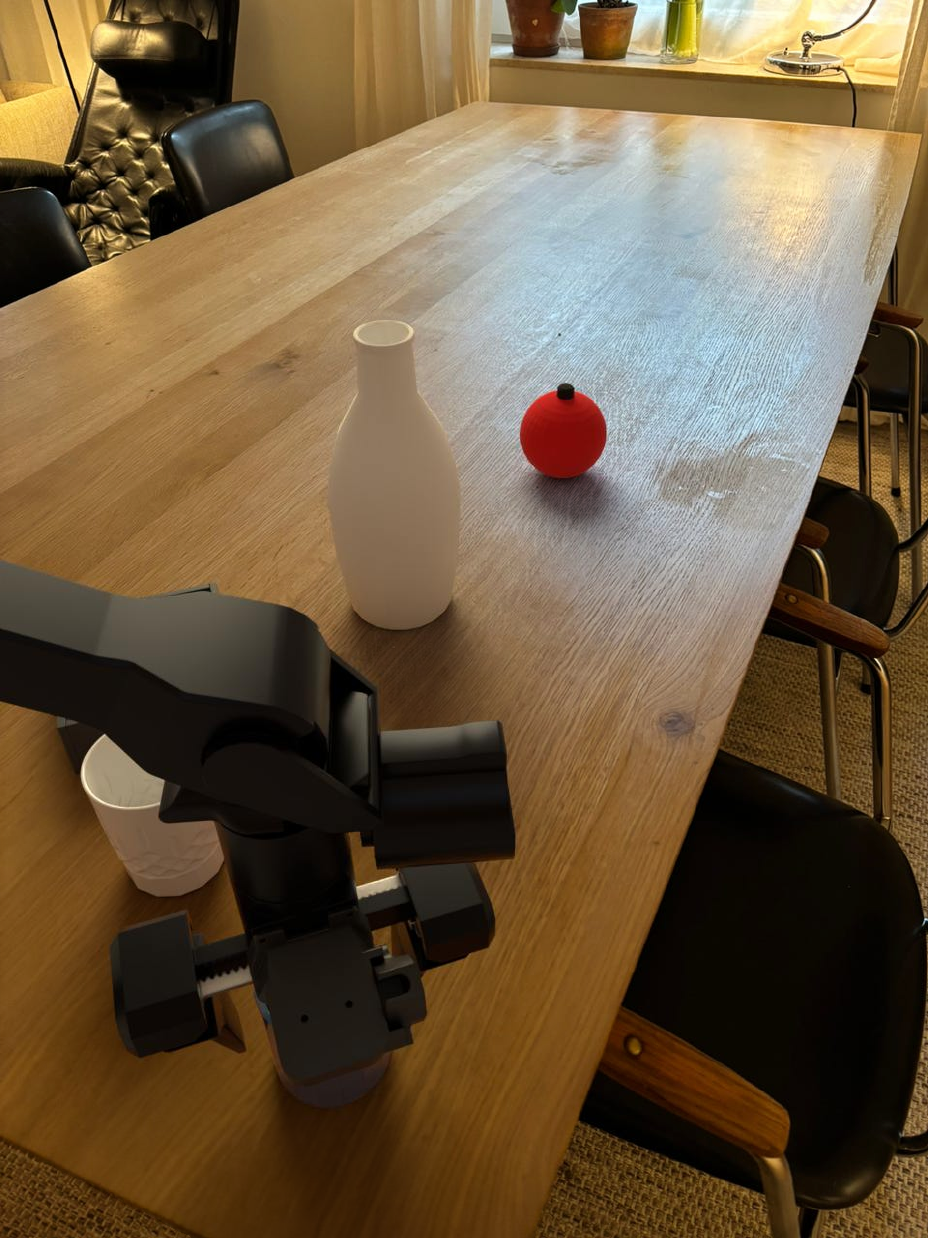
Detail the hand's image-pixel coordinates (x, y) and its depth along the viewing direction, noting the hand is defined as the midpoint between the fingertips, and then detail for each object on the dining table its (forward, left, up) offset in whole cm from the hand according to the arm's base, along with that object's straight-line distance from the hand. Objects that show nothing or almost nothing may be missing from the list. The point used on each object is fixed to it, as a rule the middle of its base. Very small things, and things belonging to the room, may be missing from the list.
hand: (323, 1018), depth 56 cm
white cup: (-15, +9, -3) cm, 18 cm away
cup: (0, 0, -3) cm, 3 cm away
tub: (-25, +23, -3) cm, 34 cm away
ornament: (-1, +65, -3) cm, 65 cm away
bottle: (-10, +40, -3) cm, 41 cm away
